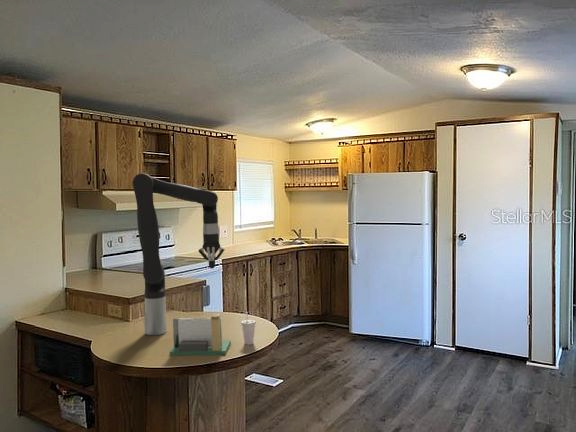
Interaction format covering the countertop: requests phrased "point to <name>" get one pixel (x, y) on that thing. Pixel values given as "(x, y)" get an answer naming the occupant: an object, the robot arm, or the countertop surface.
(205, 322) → the white upright panel
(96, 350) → the countertop surface
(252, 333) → the smoothie
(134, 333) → the countertop surface
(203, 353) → the bracket
